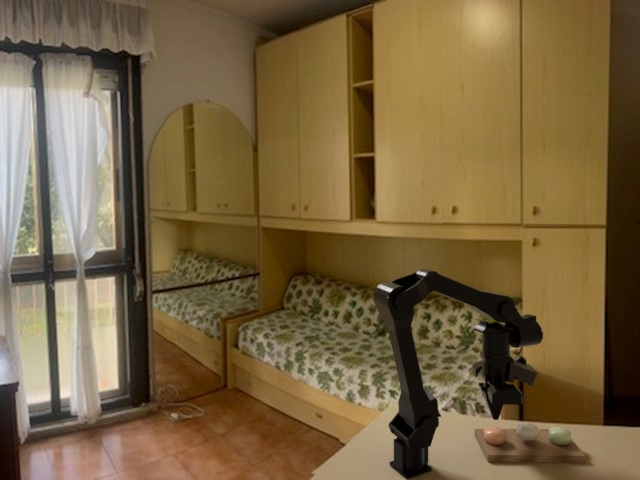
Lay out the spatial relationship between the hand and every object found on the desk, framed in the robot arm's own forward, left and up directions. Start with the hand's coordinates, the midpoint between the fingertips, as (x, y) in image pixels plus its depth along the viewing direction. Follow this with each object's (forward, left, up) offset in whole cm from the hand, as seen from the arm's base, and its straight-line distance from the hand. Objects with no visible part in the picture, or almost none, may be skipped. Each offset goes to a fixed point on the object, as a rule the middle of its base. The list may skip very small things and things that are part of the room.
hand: (495, 419), depth 117 cm
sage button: (+12, -7, -5) cm, 15 cm away
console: (+6, -3, -7) cm, 9 cm away
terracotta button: (0, 0, -5) cm, 5 cm away
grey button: (+6, -4, -4) cm, 8 cm away
